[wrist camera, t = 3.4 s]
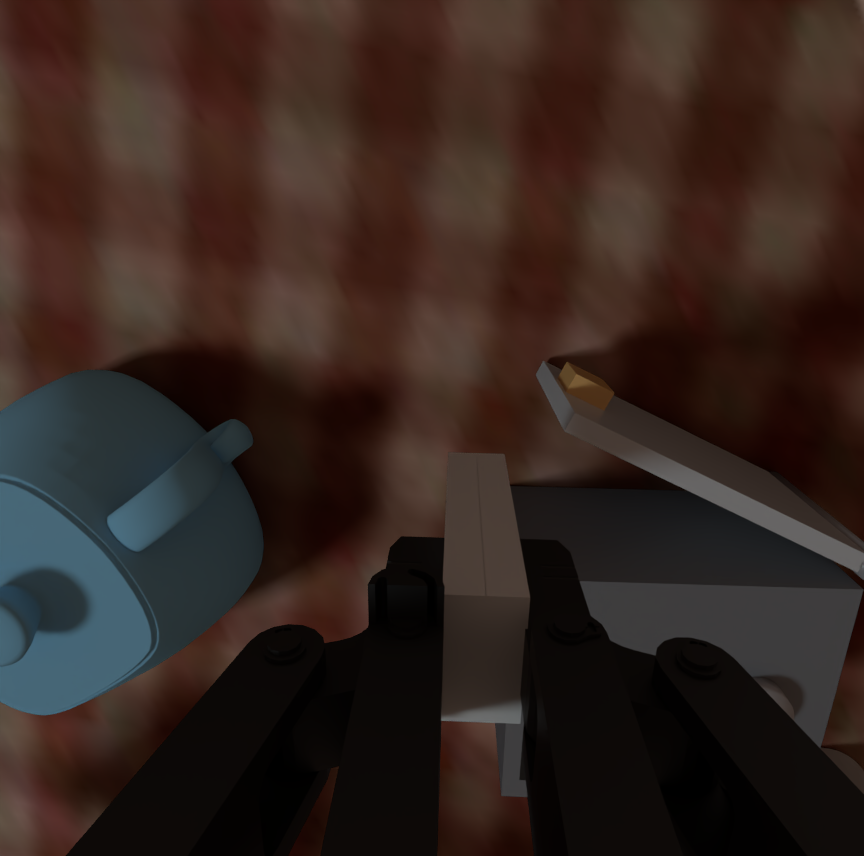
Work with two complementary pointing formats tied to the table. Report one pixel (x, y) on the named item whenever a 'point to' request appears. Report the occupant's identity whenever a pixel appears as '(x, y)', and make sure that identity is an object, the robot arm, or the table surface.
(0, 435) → the teapot
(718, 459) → the side door
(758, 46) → the table surface
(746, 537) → the camera case
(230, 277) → the table surface
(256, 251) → the table surface
